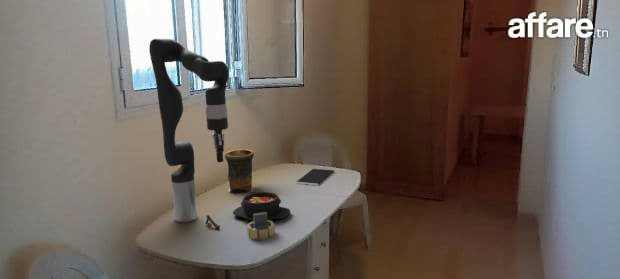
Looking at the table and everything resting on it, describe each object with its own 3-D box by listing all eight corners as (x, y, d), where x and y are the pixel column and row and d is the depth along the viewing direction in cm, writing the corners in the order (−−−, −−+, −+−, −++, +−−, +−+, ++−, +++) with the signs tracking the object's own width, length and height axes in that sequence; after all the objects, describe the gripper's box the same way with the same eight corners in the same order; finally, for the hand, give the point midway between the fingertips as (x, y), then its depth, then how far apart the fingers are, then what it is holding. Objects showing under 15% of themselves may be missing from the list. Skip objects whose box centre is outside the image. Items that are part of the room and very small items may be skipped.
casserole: (296, 210, 193) (295, 192, 191) (282, 226, 175) (281, 207, 173) (243, 206, 199) (242, 188, 198) (225, 222, 182) (224, 203, 180)
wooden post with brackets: (206, 221, 181) (208, 213, 179) (218, 233, 177) (220, 224, 174) (203, 222, 179) (205, 214, 177) (214, 234, 175) (216, 226, 173)
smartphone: (294, 185, 230) (294, 182, 230) (313, 171, 254) (312, 168, 254) (318, 187, 225) (318, 184, 225) (334, 172, 250) (334, 169, 249)
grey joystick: (251, 226, 170) (250, 212, 168) (266, 224, 172) (265, 209, 170) (255, 232, 164) (254, 217, 163) (270, 230, 166) (269, 215, 165)
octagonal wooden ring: (246, 231, 171) (245, 221, 171) (271, 227, 174) (270, 218, 174) (250, 241, 162) (249, 231, 161) (276, 237, 165) (276, 227, 164)
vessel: (258, 185, 229) (256, 148, 224) (252, 195, 215) (249, 156, 210) (231, 185, 230) (229, 148, 225) (224, 195, 216) (220, 156, 212)
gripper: (205, 114, 166) (208, 158, 169) (207, 119, 153) (211, 167, 157) (225, 113, 168) (228, 156, 171) (229, 118, 155) (232, 165, 159)
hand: (220, 161), depth 164 cm, fingers closed
